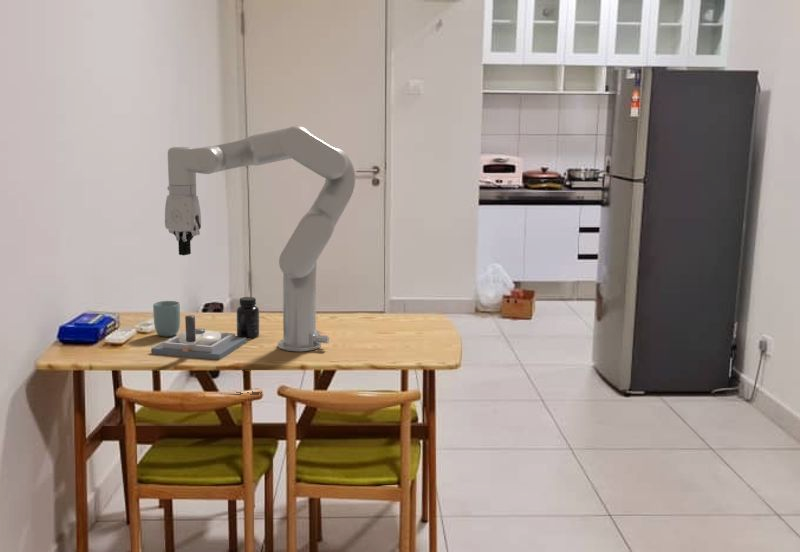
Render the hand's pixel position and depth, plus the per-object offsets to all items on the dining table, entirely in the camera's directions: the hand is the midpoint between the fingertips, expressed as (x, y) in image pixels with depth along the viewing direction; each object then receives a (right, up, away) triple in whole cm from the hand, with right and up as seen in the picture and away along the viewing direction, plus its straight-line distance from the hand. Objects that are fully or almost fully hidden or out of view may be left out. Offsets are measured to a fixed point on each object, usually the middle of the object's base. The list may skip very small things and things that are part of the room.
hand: (184, 254), depth 225 cm
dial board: (+4, -27, +2) cm, 28 cm away
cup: (-9, -25, +15) cm, 31 cm away
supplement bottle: (+15, -25, +16) cm, 33 cm away
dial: (+4, -26, 0) cm, 26 cm away
